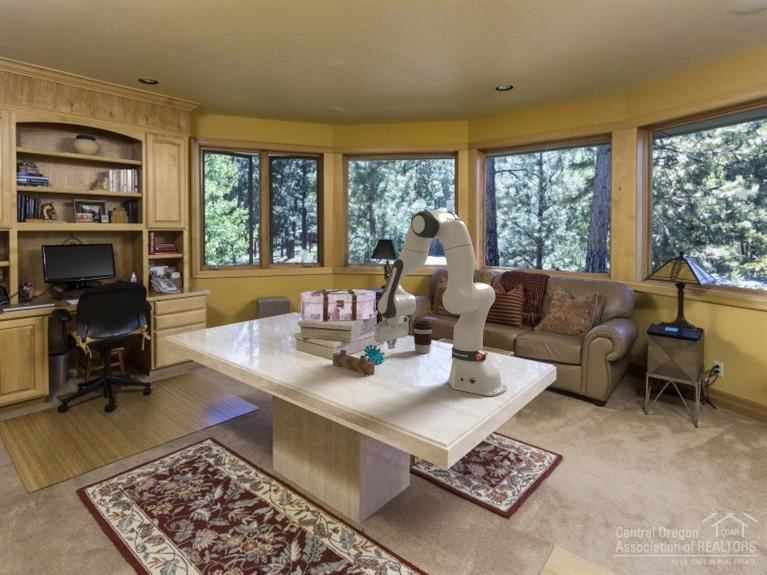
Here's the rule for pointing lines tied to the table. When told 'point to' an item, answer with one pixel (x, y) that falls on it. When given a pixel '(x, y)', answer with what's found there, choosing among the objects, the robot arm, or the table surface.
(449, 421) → the table surface
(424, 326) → the coffee cup
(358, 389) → the table surface
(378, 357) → the gear
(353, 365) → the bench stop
